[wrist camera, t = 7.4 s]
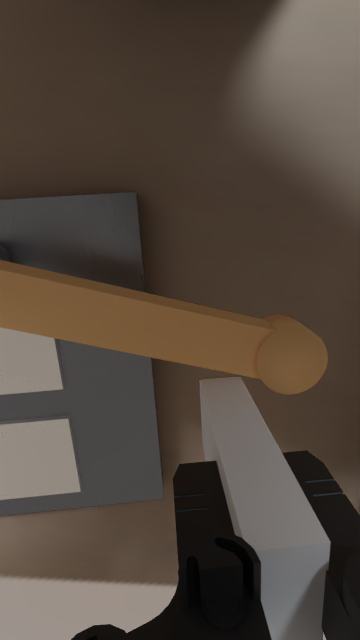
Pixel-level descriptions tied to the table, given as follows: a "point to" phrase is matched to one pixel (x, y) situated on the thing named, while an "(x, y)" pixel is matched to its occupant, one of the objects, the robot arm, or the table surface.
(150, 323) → the wooden lever handle
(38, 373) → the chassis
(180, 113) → the table surface
